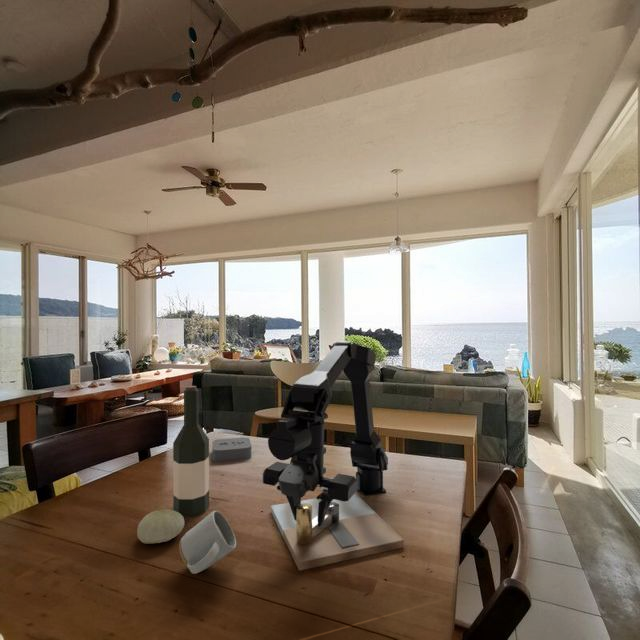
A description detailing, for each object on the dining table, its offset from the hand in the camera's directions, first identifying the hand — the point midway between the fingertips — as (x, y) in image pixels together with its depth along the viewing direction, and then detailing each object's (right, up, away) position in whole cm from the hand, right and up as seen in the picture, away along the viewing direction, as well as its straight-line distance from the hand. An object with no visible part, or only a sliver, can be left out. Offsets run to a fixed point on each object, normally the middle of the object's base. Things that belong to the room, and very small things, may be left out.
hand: (308, 522), depth 79 cm
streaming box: (-28, -7, +56) cm, 63 cm away
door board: (+5, -6, +8) cm, 11 cm away
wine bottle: (-29, -6, +18) cm, 35 cm away
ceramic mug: (-18, -6, -7) cm, 20 cm away
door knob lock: (+2, -3, +4) cm, 6 cm away
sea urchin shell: (-28, -6, +4) cm, 29 cm away
